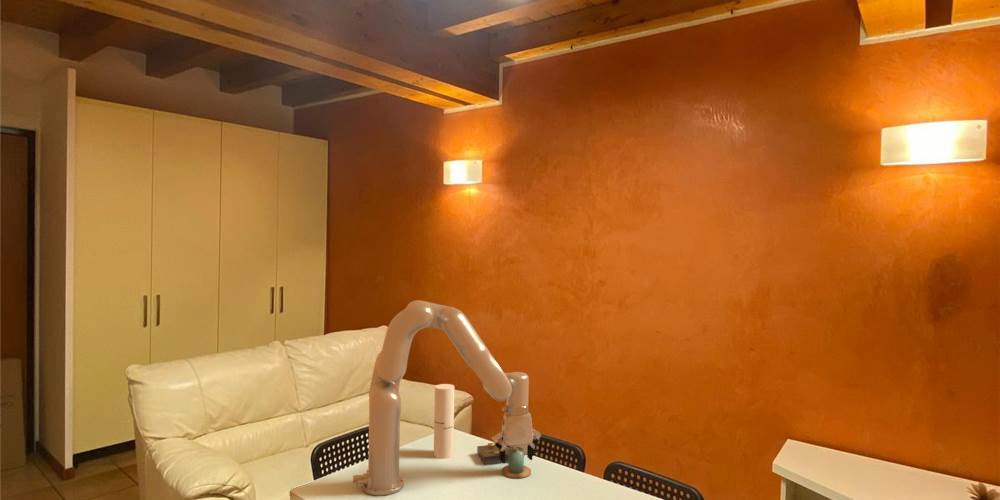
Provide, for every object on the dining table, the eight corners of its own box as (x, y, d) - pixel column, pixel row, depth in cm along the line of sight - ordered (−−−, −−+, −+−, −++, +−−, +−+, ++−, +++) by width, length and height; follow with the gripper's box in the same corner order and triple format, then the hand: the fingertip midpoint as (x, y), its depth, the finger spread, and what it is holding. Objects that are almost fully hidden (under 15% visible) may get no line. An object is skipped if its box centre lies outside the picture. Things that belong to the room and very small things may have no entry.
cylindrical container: (436, 450, 188) (437, 383, 188) (455, 451, 187) (456, 384, 187) (431, 457, 181) (432, 388, 181) (450, 459, 180) (451, 389, 180)
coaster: (506, 480, 164) (506, 478, 164) (497, 467, 174) (497, 466, 174) (535, 476, 167) (535, 474, 167) (525, 464, 177) (525, 462, 177)
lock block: (484, 465, 175) (484, 454, 175) (477, 454, 185) (477, 444, 185) (511, 462, 178) (511, 451, 178) (503, 451, 188) (503, 441, 188)
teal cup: (511, 474, 167) (511, 452, 167) (506, 468, 172) (506, 446, 172) (525, 472, 169) (526, 450, 169) (520, 466, 174) (520, 444, 174)
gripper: (496, 415, 164) (495, 467, 164) (545, 411, 169) (544, 461, 169) (489, 408, 172) (488, 458, 171) (536, 404, 177) (536, 453, 176)
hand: (516, 460), depth 170 cm, fingers open, 9 cm apart
